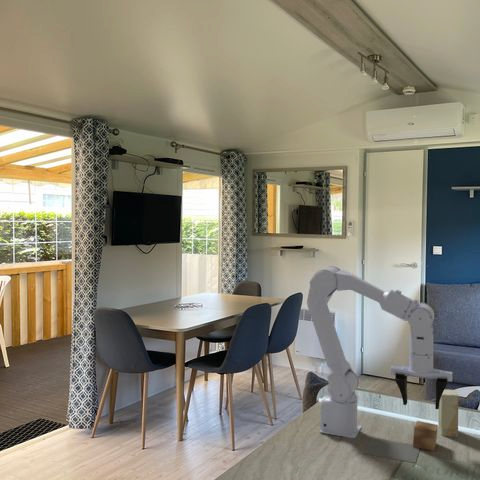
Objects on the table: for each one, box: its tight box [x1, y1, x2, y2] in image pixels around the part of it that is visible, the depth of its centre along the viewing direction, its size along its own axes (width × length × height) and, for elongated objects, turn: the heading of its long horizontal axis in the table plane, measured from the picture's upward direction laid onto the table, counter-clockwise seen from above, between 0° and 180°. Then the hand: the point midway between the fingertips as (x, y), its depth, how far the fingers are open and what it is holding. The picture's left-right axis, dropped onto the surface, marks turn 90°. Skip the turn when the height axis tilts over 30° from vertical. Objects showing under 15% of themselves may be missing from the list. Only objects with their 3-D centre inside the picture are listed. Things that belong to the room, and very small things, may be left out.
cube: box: [412, 420, 438, 452], centre depth 136 cm, size 5×5×5 cm
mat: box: [363, 437, 421, 464], centre depth 133 cm, size 12×10×1 cm
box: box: [437, 388, 459, 438], centre depth 144 cm, size 5×4×11 cm
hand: (421, 405), depth 137 cm, fingers open, 7 cm apart
